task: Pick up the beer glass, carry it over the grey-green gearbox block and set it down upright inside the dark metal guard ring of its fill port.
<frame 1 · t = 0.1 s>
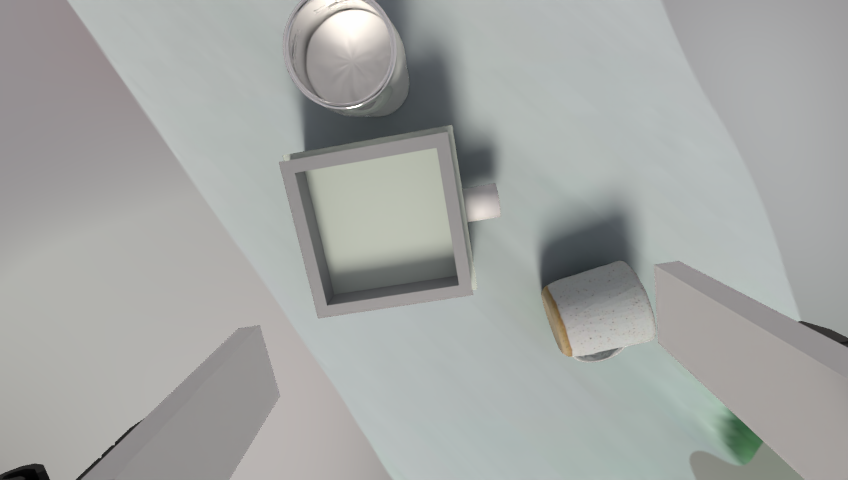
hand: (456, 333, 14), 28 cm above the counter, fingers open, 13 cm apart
beer glass: (376, 82, 39), on the counter
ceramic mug: (586, 306, 43), on the counter
gearbox: (390, 211, 41), on the counter
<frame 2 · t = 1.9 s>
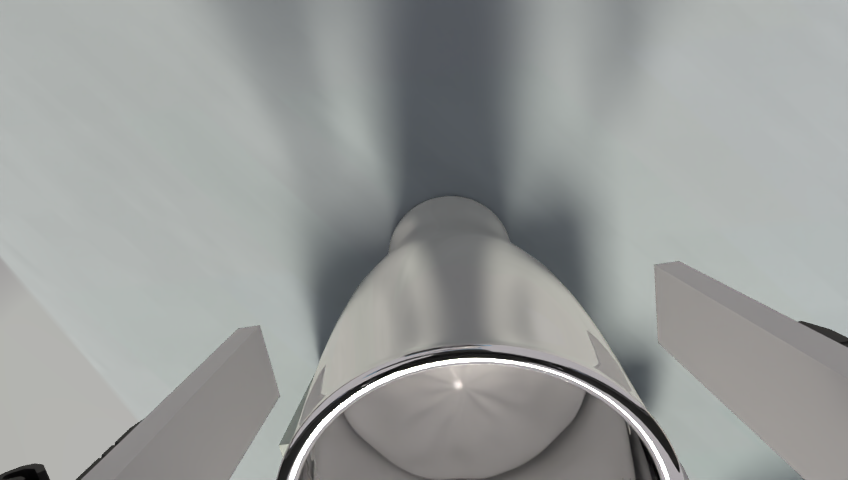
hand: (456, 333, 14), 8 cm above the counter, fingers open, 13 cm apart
beer glass: (449, 254, 21), on the counter
gearbox: (465, 455, 24), on the counter
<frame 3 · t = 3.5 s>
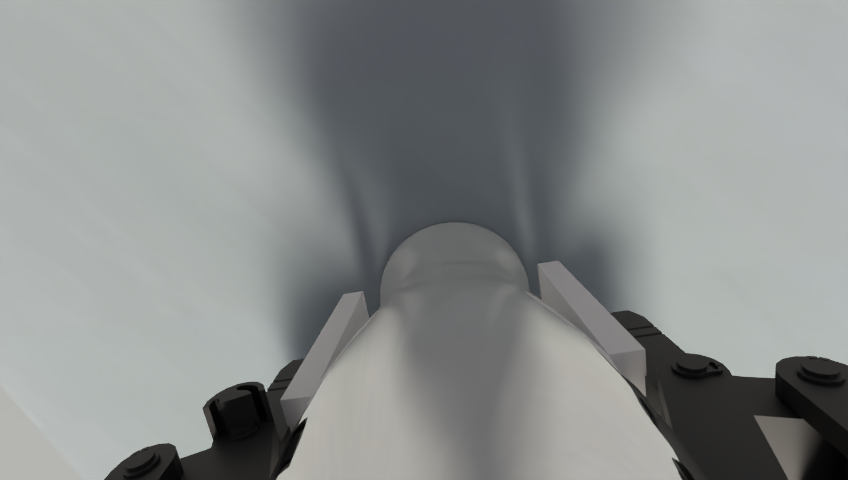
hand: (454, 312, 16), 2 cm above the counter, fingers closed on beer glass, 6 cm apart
beer glass: (453, 290, 18), on the counter, touching gripper
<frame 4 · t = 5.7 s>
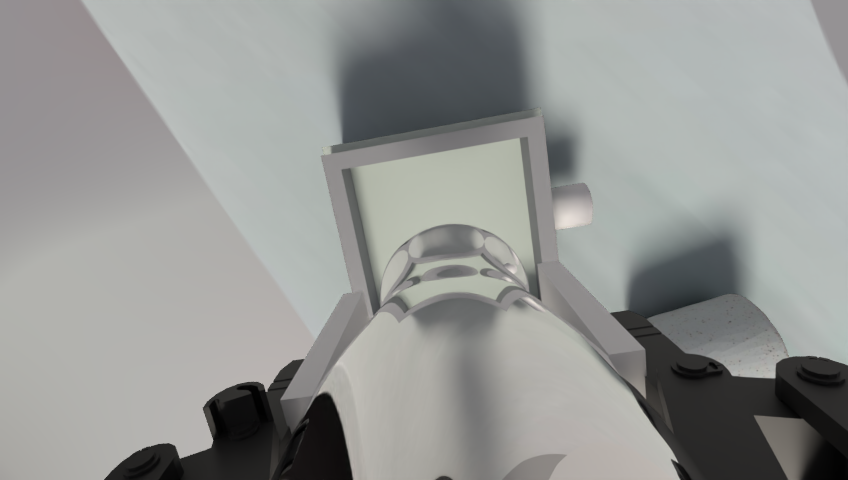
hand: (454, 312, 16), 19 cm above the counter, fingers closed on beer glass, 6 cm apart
beer glass: (453, 291, 18), point 17 cm above the counter, touching gripper
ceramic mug: (680, 344, 36), on the counter
gearbox: (445, 217, 34), on the counter
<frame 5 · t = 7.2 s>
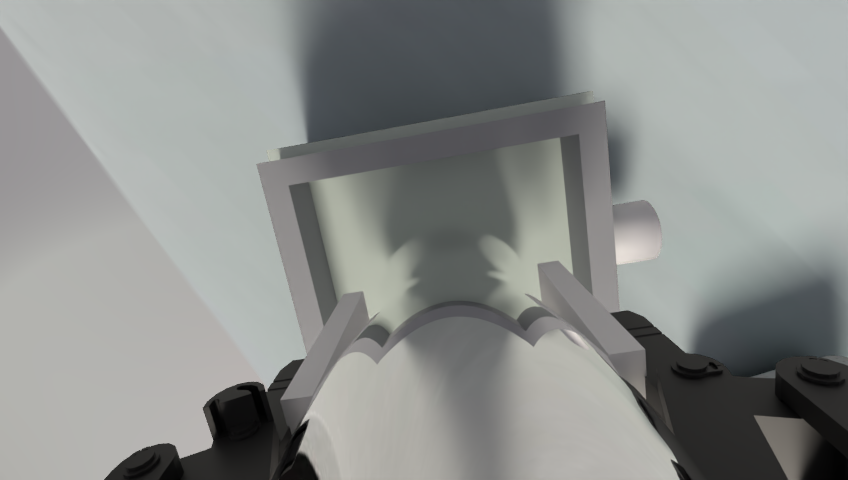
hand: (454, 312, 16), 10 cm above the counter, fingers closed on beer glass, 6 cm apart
beer glass: (453, 292, 18), point 8 cm above the counter, touching gripper
gearbox: (447, 244, 25), on the counter
when the fingers open (9 cm above the counter, at t = 8.2 s): beer glass moves 2 cm, resting on gearbox.
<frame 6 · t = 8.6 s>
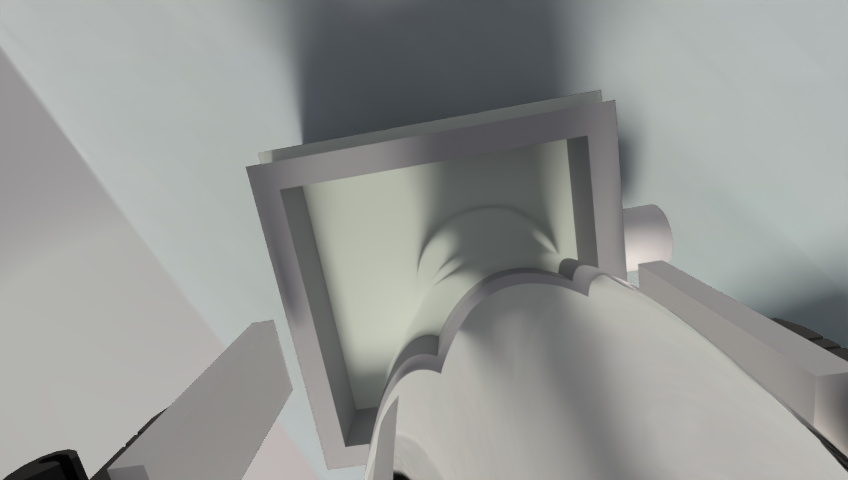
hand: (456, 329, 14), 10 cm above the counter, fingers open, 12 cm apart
beer glass: (487, 274, 19), point 6 cm above the counter, touching gearbox
gearbox: (448, 249, 24), on the counter
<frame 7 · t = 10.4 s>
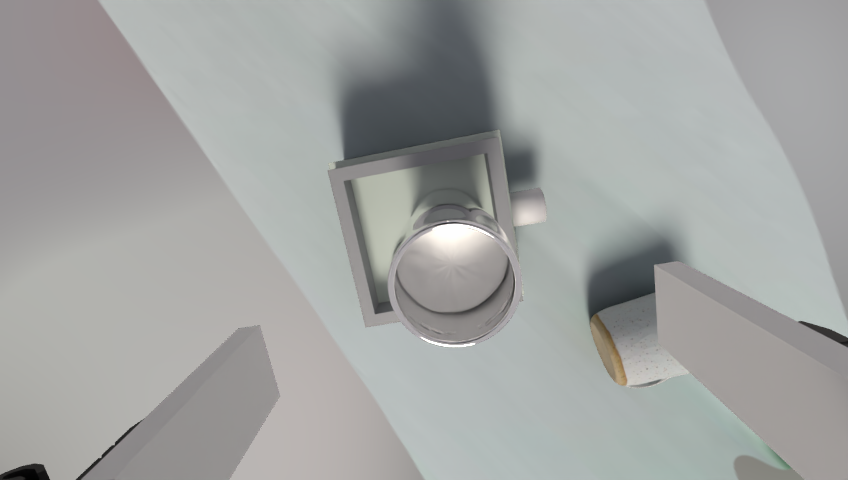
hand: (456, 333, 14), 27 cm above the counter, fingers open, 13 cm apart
beer glass: (447, 225, 35), point 6 cm above the counter, touching gearbox
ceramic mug: (633, 331, 43), on the counter
gearbox: (430, 218, 41), on the counter
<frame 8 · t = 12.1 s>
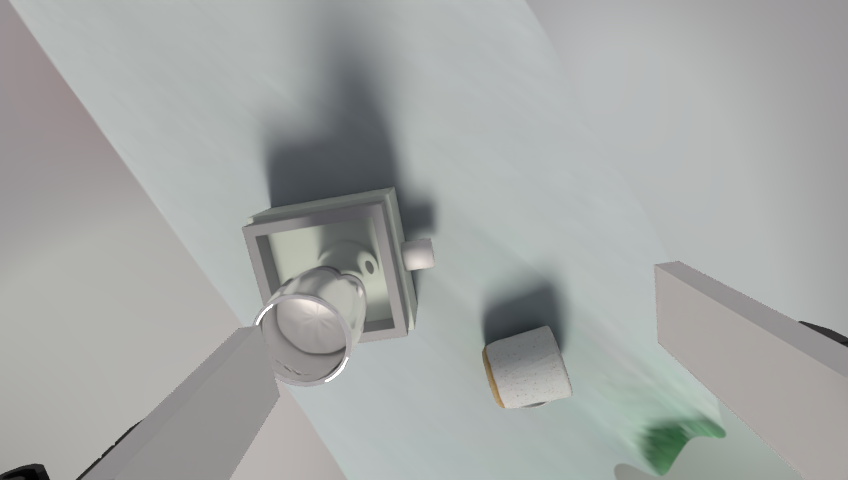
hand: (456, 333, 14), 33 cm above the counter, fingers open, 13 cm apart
beer glass: (348, 270, 42), point 6 cm above the counter, touching gearbox
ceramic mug: (524, 359, 50), on the counter
gearbox: (345, 258, 48), on the counter
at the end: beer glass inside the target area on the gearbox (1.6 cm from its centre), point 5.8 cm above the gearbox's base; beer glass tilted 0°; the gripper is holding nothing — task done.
